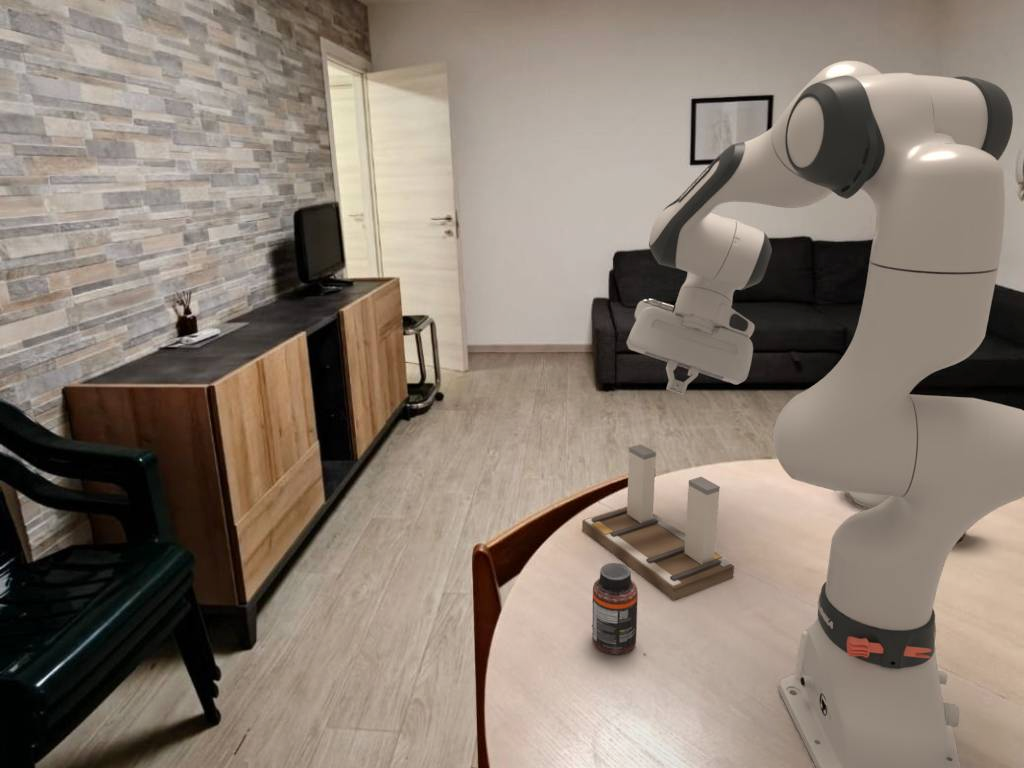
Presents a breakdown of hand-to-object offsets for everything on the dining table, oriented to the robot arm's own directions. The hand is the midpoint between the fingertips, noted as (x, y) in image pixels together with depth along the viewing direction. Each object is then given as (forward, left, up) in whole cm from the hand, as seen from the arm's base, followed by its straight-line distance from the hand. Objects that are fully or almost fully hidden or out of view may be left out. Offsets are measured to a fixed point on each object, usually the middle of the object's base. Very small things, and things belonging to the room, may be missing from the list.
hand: (675, 391), depth 120 cm
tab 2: (-12, -5, -23) cm, 27 cm away
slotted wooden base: (-8, +2, -26) cm, 27 cm away
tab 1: (0, +5, -23) cm, 24 cm away
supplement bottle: (-32, +7, -26) cm, 42 cm away
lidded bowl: (+17, -38, -26) cm, 49 cm away
